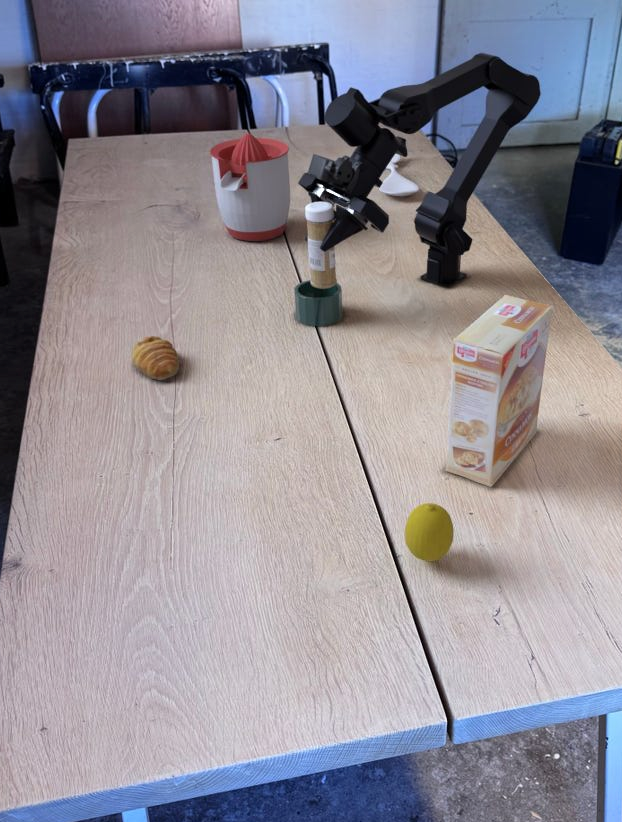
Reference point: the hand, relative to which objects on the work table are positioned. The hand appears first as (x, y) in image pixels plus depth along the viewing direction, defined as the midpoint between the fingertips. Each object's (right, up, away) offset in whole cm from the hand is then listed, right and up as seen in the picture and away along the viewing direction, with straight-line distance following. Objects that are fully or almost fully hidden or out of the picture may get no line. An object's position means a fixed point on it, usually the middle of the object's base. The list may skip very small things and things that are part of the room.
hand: (314, 245), depth 143 cm
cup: (0, -10, +9) cm, 13 cm away
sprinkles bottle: (+1, -5, +5) cm, 7 cm away
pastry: (-24, -20, -4) cm, 32 cm away
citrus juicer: (-15, +13, +40) cm, 45 cm away
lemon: (+16, -48, -41) cm, 65 cm away
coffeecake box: (+26, -35, -24) cm, 49 cm away
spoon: (+15, +34, +66) cm, 76 cm away
